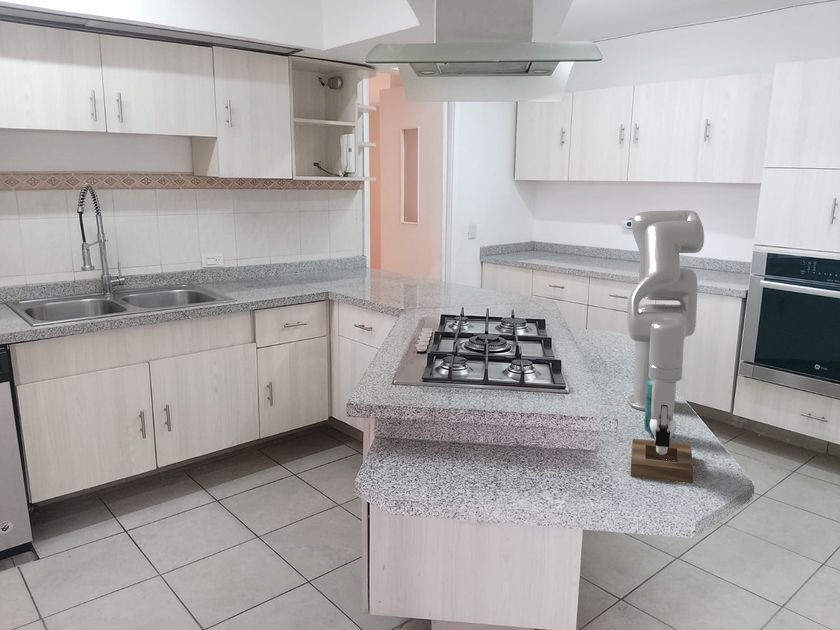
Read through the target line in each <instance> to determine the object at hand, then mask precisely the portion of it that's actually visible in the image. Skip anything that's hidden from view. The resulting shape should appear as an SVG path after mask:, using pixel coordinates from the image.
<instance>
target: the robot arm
mask: <svg viewBox="0 0 840 630" xmlns="http://www.w3.org/2000/svg"><path fill="white" fill-rule="evenodd" d="M631 219H632V220H631V230H632V235H633V237H634V241H635V242H636V243H635V244H636V245H637V248H638V252H639V271H638V276H639V278H638V283H637V284H636V285H635V286H634V287H633V289H632V291H631V292H630V295H629V297H628V301H627V312H626V313H627V320H626V321H627V333H628V337H629V338H630V339H631V340H632V341H634V362H633V363H634V365H633V366H634V369H633V370H634V371H633V394H632V395H630V396H628V400H627V404H628V405H629V404H630V405H631V406H630V405H629V406H630V407H632V408H633V409H636V410H639V411H643V412H645V410H646V409H645V407H646V405H645V404H646V399H645V398H646V393H647V381H648V380H649V379H650V378H651V379H652V380H653V382H652V401H651V418H652V419H653V420H654V419H657V430H656V440H655V439H654V441H655V445H656V446H661V447H669V445H670V442H671V438H670V431H669V423H670V421H672V420H673V418H674V413H675V404H676V395H677V394H676V392H677V382H679V381H681V380H683V364H684V363H683V361H684V347H685V346H684V345H685V344H684V343H685V339H686V337H691V336H692V335H693V334H694V333H695V330H696V327H697V309H698V305H697V304H698V291H699V290H698V288H699V287H698V284H699V283H698V277H697V274H696V272H695V271H694V270H693V269H691V268H686V267H681V261H680V258H681V257H680V254H697V253H699V252H701V250H702V249H703V247H704V245H705V233H704V232H705V230H704V227H703V223H702V220H701V218H700V216H699V214H698V213H697V211H695V210H690V209H688V210H684V209H683V210H649V211H642V212H638V213H636V214H634V216H633V217H632V218H631ZM643 299H644V300H648V301H668V302H669V301H670V302H671V301H672V302H675V301H676V302H679V304H665V303H648V304H647V303H646V304H642V305H640V302H641V300H643ZM659 416H661V419H660V418H659ZM667 417H668V419H667ZM660 421H661V424H660ZM659 428H660V429H659Z"/></svg>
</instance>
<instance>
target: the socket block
mask: <svg viewBox="0 0 840 630" xmlns="http://www.w3.org/2000/svg"><path fill="white" fill-rule="evenodd" d="M631 443H632V444H631V445H632V446H631V458H630V477H632V478H641V479H650V480H660V481H666V480H669V481H668V482H675V481H677V483H683V482H685V484H692V483H694V463H693V455H692V445H691V443H684V442H673V441H670V445H669V447H668V449H667V453H666V454H664V455H660V454H659V453H657V452H656V445H655V439H654V440H650V439H644V438H643V439H642V438H632V442H631ZM663 459H664V460H663ZM666 459H667V460H666ZM672 460H675V461H672Z"/></svg>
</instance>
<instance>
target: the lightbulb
mask: <svg viewBox="0 0 840 630" xmlns="http://www.w3.org/2000/svg"><path fill="white" fill-rule="evenodd" d="M659 418H660V419H661V416H659ZM667 419H668V417H667ZM660 424H661V421H660ZM650 429H651V431H652V433H653V434H652V435H653V436H654V441H655V440H656V430H657V419H654V420H653V419H652V418H651V420H650ZM659 429H660V428H659ZM669 431H670V439H671V438H672V437H673V435H674V434H675V432H676V431H677V423H676V419H674V417H673V420H672V421H670V423H669ZM667 449H668V447H661V446H656V452H657V453H659V454H660V455H664V454H666V453H667Z"/></svg>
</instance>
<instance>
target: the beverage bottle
mask: <svg viewBox="0 0 840 630" xmlns="http://www.w3.org/2000/svg"><path fill="white" fill-rule="evenodd" d="M652 382H653V380H652V379H651V378H650V379H649V380H648V381H647V393H646V398H645V399H646V404H645V405H646V407H645V409H646V410H645V411H644V412H645V413H644V418H643V419H644V423H643V424H644V426H643V427H644V430H645V432H647V433H648V434H651V435H653V433H652V431H651V429H650V420H651V401H652Z"/></svg>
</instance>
